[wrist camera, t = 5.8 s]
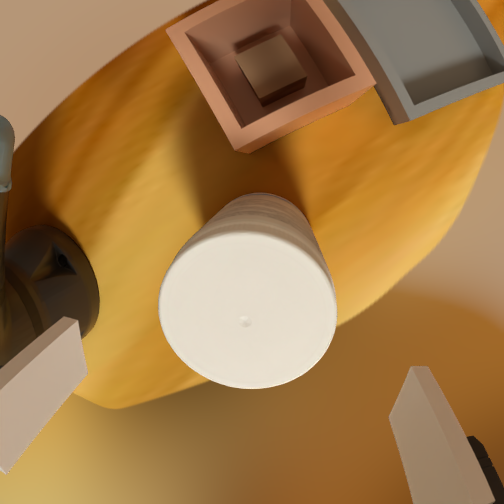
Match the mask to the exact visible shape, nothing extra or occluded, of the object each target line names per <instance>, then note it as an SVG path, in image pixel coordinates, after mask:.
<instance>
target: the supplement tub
mask: <svg viewBox="0 0 504 504" xmlns="http://www.w3.org/2000/svg"><path fill="white" fill-rule="evenodd" d="M158 310H159V318H160V323H161V326H162V329H163V332H164V335H165V337H166V339H167V341H168V343H169V344H170V346H171V347H172V349H173V350H174V351H175V353H176V354H177V355H178V356H179V357H180V359H181V360H182V361H183V362H185V363H186V364H187V365H188V366H189V367H190V368H192V369H193V370H194V371H196V372H197V373H199V374H201V375H202V376H204V377H206V378H208V379H210V380H212V381H215V382H217V383H220V384H223V385H227V386H231V387H237V388H245V389H259V388H268V387H273V386H277V385H280V384H284V383H287V382H289V381H291V380H293V379H295V378H297V377H299V376H300V375H302V374H304V373H305V372H307V371H308V370H309V369H310V368H312V367H313V366H314V365H315V364H316V363H317V362H318V361H319V360H320V358H321V357H322V356H323V354H324V352H325V351H326V350H327V348H328V347H329V345H330V342H331V340H332V338H333V335H334V332H335V328H336V322H337V303H336V294H335V288H334V284H333V281H332V277H331V274H330V272H329V269H328V267H327V264H326V262H325V260H324V257H323V255H322V252H321V250H320V248H319V245H318V243H317V241H316V238H315V236H314V234H313V231H312V229H311V227H310V224H309V223H308V221H307V219H306V217H305V216H304V215H303V213H302V212H301V211H300V210H299V209H298V208H297V207H296V206H295V205H294V204H293V203H291V202H290V201H288V200H286V199H284V198H282V197H280V196H277V195H274V194H269V193H250V194H246V195H243V196H240V197H238V198H236V199H234V200H232V201H231V202H229V203H228V204H227V205H226V206H224V207H223V208H222V209H221V210H220V211H219V212H218V213H217V214H216V215H215V216H213V217H212V218H211V219H210V220H209V221H208V222H207V223H206V224H205V225H204V226H203V227H202V228H201V229H200V230H199V231H198V232H196V233H195V234H194V235H193V236H192V237H191V238H190V239H189V240H188V241H187V242H186V243H185V245H184V246H183V247H182V248H181V249H180V251H179V252H178V253H177V255H176V257H175V258H174V260H173V262H172V264H171V265H170V267H169V269H168V270H167V272H166V274H165V276H164V279H163V281H162V284H161V287H160V292H159V299H158Z"/></svg>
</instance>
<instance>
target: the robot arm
mask: <svg viewBox="0 0 504 504" xmlns="http://www.w3.org/2000/svg"><path fill="white" fill-rule="evenodd" d="M14 142H15V136H14V130H13V128H12V126H11V124H10V123H9V121H8V120H7V119H6V118H4V117H3V116H1V115H0V470H1V471H2V472H3V473H5V474H7V473H8V472H9V471H10V469H11V468H12V467H13V465H14V464H15V463H16V462H17V460H18V459H19V458H20V456H21V455H22V454H23V452H24V451H25V450H26V449H27V447H28V446H29V445H30V443H31V442H32V441H33V440H34V438H35V437H36V436H37V435H38V433H39V432H40V431H41V430H42V428H43V427H44V426H45V425H46V423H47V422H48V421H49V420H50V418H51V417H52V416H53V415H54V414H55V412H56V411H57V410H58V409H59V407H60V406H61V405H62V404H63V403H64V401H65V400H66V399H67V398H68V397H69V395H70V394H71V393H72V392H73V391H74V389H75V388H76V387H77V386H78V385H79V383H80V382H81V381H82V380H83V379H84V378H85V376H86V375H87V374H88V370H87V366H86V361H85V356H84V351H83V346H82V341H81V340H82V339H83V338H84V337H85V336H86V335H87V334H88V333H89V332H90V331H91V330H92V328H93V327H94V325H95V323H96V321H97V318H98V313H99V292H98V287H97V283H96V279H95V276H94V273H93V271H92V269H91V266H90V264H89V262H88V260H87V259H86V257H85V255H84V254H83V252H82V251H81V250H80V248H79V247H78V246H77V245H76V243H75V242H74V241H73V240H72V239H71V238H70V237H69V236H67V235H66V234H65V233H63V232H62V231H60V230H58V229H56V228H54V227H51V226H48V225H35V226H32V227H29V228H27V229H24V230H21V231H19V232H18V233H16V234H15V235H14V236H13V237H12V238H11V239H10V240H9V241H8V242H7V243H6V244H5V235H6V217H7V205H8V195H9V190H11V187H12V181H11V180H12V179H11V166H12V157H13V150H14ZM389 420H390V423H391V427H392V430H393V433H394V436H395V439H396V443H397V446H398V449H399V453H400V456H401V459H402V463H403V466H404V470H405V473H406V477H407V480H408V484H409V488H410V492H411V496H412V500H413V503H414V504H504V487H503V485H502V483H501V480H500V478H499V476H498V474H497V472H496V470H495V468H494V467H493V466H492V462H491V460H490V458H488V454H487V452H486V450H485V448H484V446H483V444H482V443H480V442H479V441H478V440H477V439H476V438H475V437H474V436H469V437H466V436H465V434H464V432H463V430H462V428H461V426H460V424H459V422H458V420H457V418H456V416H455V415H454V413H453V411H452V409H451V407H450V405H449V403H448V402H447V400H446V398H445V396H444V394H443V392H442V391H441V389H440V387H439V385H438V384H437V382H436V380H435V378H434V377H433V375H432V373H431V371H430V370H429V368H428V366H411V367H410V370H409V372H408V375H407V377H406V380H405V382H404V384H403V386H402V389H401V391H400V393H399V396H398V398H397V400H396V402H395V404H394V407H393V409H392V411H391V413H390V415H389Z"/></svg>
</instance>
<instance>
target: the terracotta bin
mask: <svg viewBox="0 0 504 504" xmlns="http://www.w3.org/2000/svg"><path fill="white" fill-rule="evenodd" d="M166 32H167V34H168V35H169V37H170V39H171V40H172V42H173V44H174V45H175V47H176V49H177V50H178V52H179V54H180V55H181V57H182V59H183V61H184V62H185V64H186V66H187V67H188V69H189V71H190V73H191V74H192V76H193V78H194V79H195V81H196V83H197V85H198V86H199V88H200V90H201V92H202V93H203V95H204V97H205V99H206V100H207V102H208V104H209V106H210V107H211V109H212V111H213V113H214V114H215V116H216V118H217V120H218V122H219V123H220V125H221V127H222V129H223V131H224V132H225V134H226V136H227V138H228V140H229V141H230V143H231V145H232V147H233V149H234V150H235V151H239V152H244V153H248V154H250V153H252V152H254V151H256V150H258V149H260V148H262V147H264V146H265V145H267V144H269V143H271V142H273V141H275V140H277V139H279V138H281V137H283V136H285V135H287V134H289V133H291V132H293V131H295V130H297V129H300V128H302V127H304V126H306V125H308V124H310V123H312V122H314V121H316V120H318V119H321V118H323V117H325V116H327V115H329V114H331V113H334V112H336V111H338V110H340V109H343V108H345V107H347V106H349V105H350V104H352V103H353V102H354V101H355V100H356V99H358V98H359V97H360V96H361V95H363V94H364V93H365V92H366V91H368V90H369V89H370V88H371V87H373V86H374V85H375V84H377V83H376V81H375V80H374V78H373V76H372V74H371V73H370V71H369V69H368V68H367V66H366V64H365V63H364V61H363V59H362V58H361V56H360V54H359V53H358V51H357V50H356V48H355V46H354V45H353V43H352V42H351V40H350V39H349V37H348V36H347V34H346V33H345V31H344V30H343V28H342V27H341V25H340V24H339V22H338V21H337V20H336V18H335V17H334V15H333V14H332V13H331V11H330V10H329V8H328V7H327V6H326V4H325V3H324V2H323V0H219V1H217V2H215V3H213V4H211V5H209V6H207V7H205V8H203V9H201V10H199V11H197V12H196V13H194V14H192V15H190V16H188V17H186V18H185V19H183V20H181V21H179V22H178V23H176V24H174V25H173V26H171V27H169V28H168V29H166ZM278 35H282V36H283V38H284V39H285V41H286V42H287V44H288V45H289V47H290V49H291V50H292V52H293V53H294V55H295V56H296V58H297V59H298V61H299V63H300V64H301V66H302V68H303V69H304V71H305V72H306V74H307V80H306V83H305V86H304V88H302V89H300V90H298V91H296V92H294V93H291V94H289V95H287V96H285V97H283V98H281V99H279V100H277V101H275V102H273V103H271V104H269V105H267V106H265V107H262V105H261V103H260V102H259V100H258V98H257V97H256V95H255V93H254V91H253V90H252V88H251V86H250V85H249V83H248V81H247V80H246V78H245V76H244V75H243V73H242V71H241V70H240V68H239V66H238V64H237V61H236V59H235V57H234V56H236V55H238V54H240V53H242V52H244V51H246V50H248V49H250V48H252V47H254V46H256V45H258V44H261V43H263V42H265V41H267V40H269V39H272V38H274V37H276V36H278Z"/></svg>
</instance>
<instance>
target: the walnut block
mask: <svg viewBox="0 0 504 504" xmlns="http://www.w3.org/2000/svg"><path fill="white" fill-rule="evenodd" d="M234 57H235V59H236V61H237V64H238V66H239V68H240V70H241V71H242V73H243V75H244V76H245V78H246V80H247V81H248V83H249V85H250V86H251V88H252V90H253V91H254V93H255V95H256V97H257V98H258V100H259V102H260V103H261V105H262V107H265V106H267V105H269V104H271V103H273V102H275V101H277V100H279V99H281V98H283V97H285V96H287V95H289V94H291V93H294V92H296V91H298V90H300V89H302V88H304V86H305V83H306V80H307V74H306V72H305V71H304V69H303V68H302V66H301V64H300V63H299V61H298V59H297V58H296V56H295V55H294V53H293V52H292V50H291V49H290V47H289V45H288V44H287V42H286V41H285V39H284V38H283V36H282V35H278V36H276V37H274V38H272V39H269V40H267V41H265V42H263V43H261V44H258V45H256V46H254V47H252V48H250V49H248V50H246V51H244V52H242V53H240V54H238V55H236V56H234Z"/></svg>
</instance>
